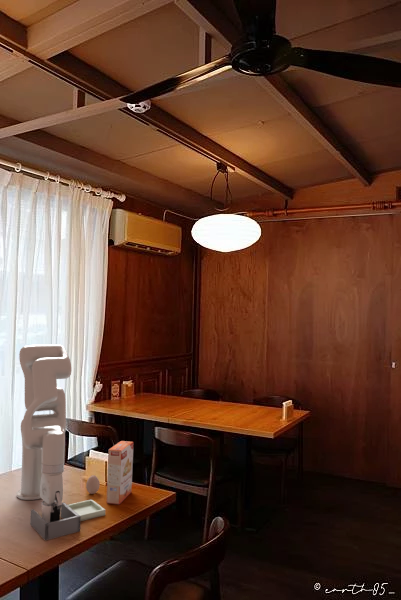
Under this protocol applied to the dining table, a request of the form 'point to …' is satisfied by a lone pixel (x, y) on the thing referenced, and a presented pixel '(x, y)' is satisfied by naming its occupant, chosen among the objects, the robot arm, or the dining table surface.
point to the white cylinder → (46, 511)
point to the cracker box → (119, 472)
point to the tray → (87, 509)
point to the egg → (92, 484)
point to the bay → (56, 523)
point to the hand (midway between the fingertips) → (51, 519)
